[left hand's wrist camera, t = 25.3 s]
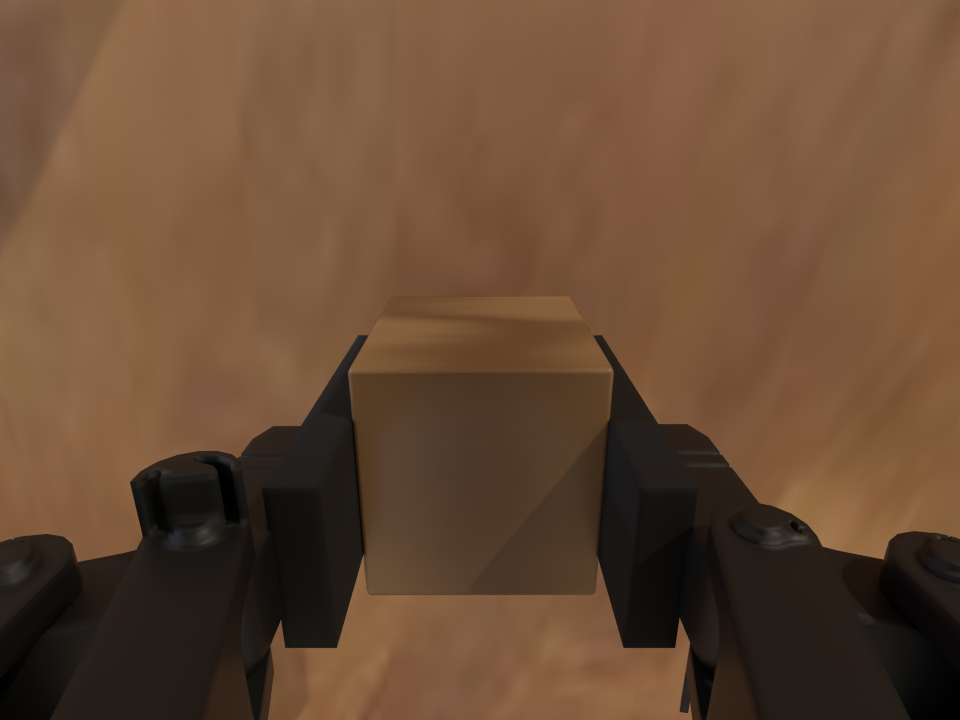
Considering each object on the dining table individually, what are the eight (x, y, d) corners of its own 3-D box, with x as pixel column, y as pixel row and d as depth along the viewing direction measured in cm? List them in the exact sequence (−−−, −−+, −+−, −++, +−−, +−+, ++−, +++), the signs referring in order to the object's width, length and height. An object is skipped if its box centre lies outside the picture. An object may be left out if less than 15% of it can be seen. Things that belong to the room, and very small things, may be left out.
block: (399, 464, 15) (365, 596, 11) (390, 295, 14) (346, 368, 9) (562, 464, 15) (596, 596, 11) (571, 295, 14) (615, 368, 9)
